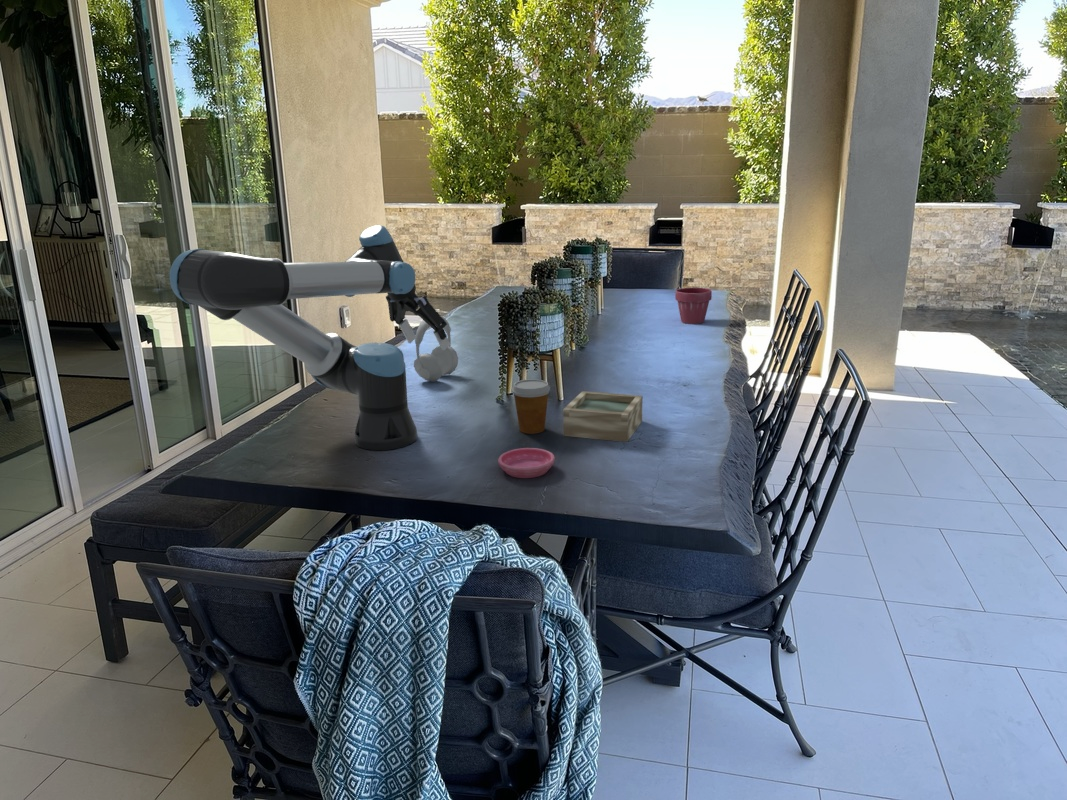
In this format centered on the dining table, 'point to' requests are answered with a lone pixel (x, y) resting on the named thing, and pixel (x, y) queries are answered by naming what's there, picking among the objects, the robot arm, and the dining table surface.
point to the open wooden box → (603, 416)
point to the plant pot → (693, 304)
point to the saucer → (526, 462)
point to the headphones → (434, 357)
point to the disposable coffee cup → (531, 404)
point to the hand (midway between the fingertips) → (429, 343)
